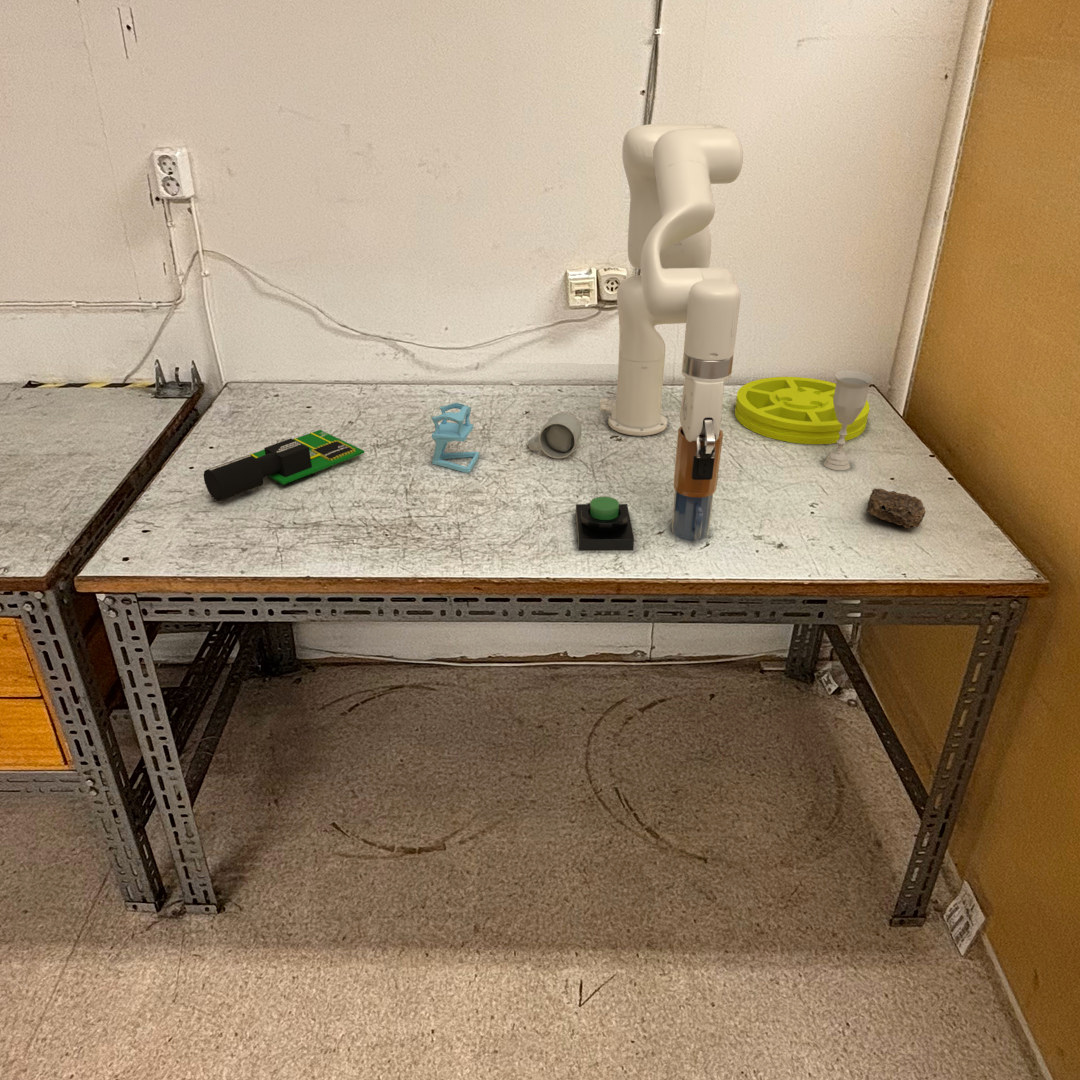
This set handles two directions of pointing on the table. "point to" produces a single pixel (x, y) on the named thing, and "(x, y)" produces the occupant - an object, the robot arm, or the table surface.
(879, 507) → the concrete sample
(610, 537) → the button box
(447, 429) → the chair
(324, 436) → the circuit board with cylinder
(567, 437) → the ceramic mug
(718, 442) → the glass
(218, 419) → the table surface
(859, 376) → the chalice
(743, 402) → the pulley
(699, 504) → the mug
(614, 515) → the button
